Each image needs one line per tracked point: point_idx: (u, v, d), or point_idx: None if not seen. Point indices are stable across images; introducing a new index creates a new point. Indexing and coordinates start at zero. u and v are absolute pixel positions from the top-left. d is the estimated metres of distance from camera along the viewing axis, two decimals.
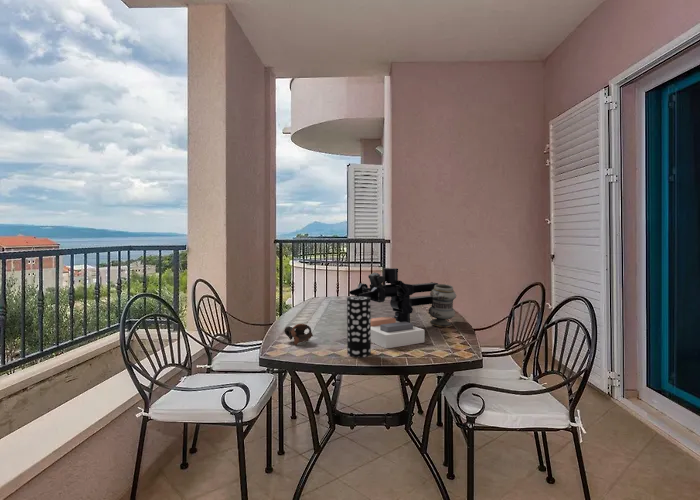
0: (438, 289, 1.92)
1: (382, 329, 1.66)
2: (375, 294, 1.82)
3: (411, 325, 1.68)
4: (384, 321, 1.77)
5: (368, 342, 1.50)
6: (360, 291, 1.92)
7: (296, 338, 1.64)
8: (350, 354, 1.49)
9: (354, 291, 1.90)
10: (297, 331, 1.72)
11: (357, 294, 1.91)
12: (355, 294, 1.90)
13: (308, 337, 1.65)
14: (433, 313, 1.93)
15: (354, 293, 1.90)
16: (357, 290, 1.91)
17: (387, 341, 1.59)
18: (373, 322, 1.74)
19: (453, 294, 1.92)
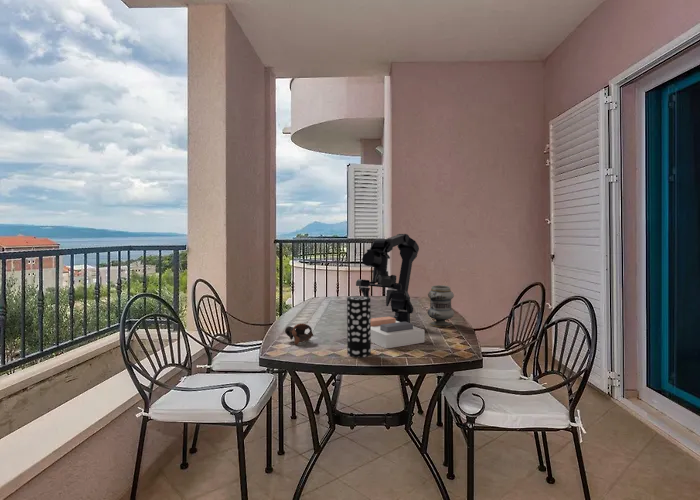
0: (435, 289, 1.94)
1: (382, 329, 1.66)
2: None
3: (411, 325, 1.68)
4: (384, 321, 1.77)
5: (368, 342, 1.50)
6: None
7: (297, 338, 1.64)
8: (350, 354, 1.49)
9: None
10: (298, 331, 1.72)
11: None
12: None
13: (309, 337, 1.65)
14: (432, 314, 1.94)
15: None
16: None
17: (387, 341, 1.59)
18: (373, 322, 1.74)
19: (450, 293, 1.93)
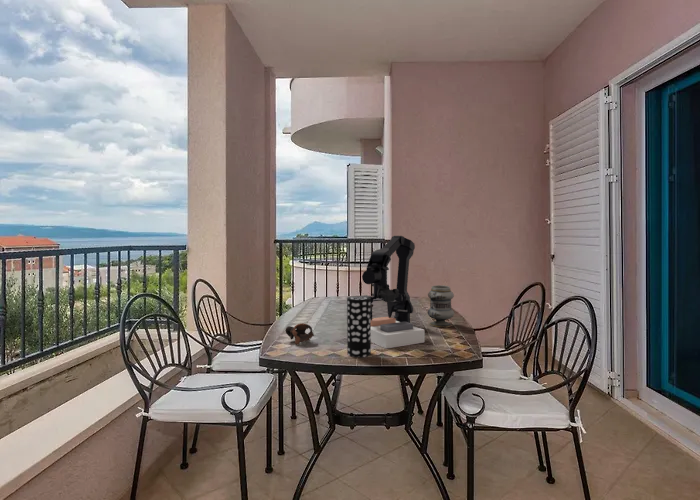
0: (435, 289, 1.94)
1: (382, 329, 1.66)
2: None
3: (411, 325, 1.68)
4: (384, 321, 1.77)
5: (368, 342, 1.50)
6: None
7: (297, 338, 1.65)
8: (350, 354, 1.49)
9: None
10: (298, 331, 1.72)
11: None
12: None
13: (309, 337, 1.66)
14: (432, 314, 1.94)
15: None
16: None
17: (387, 341, 1.59)
18: (373, 322, 1.74)
19: (450, 293, 1.93)
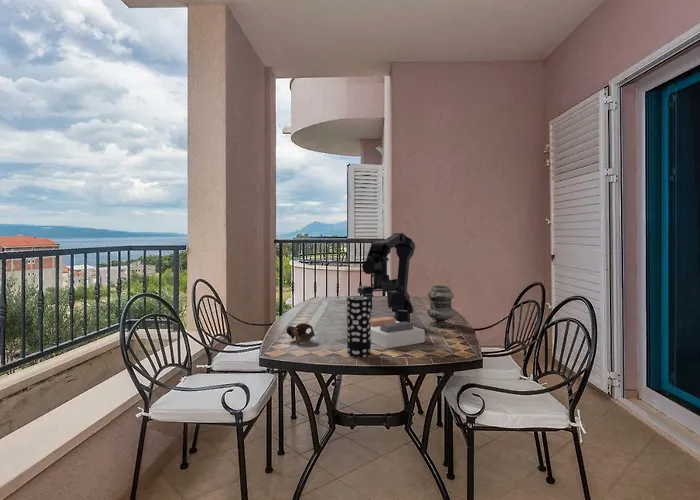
0: (435, 289, 1.94)
1: (382, 329, 1.66)
2: None
3: (411, 325, 1.68)
4: (384, 321, 1.77)
5: (368, 342, 1.50)
6: None
7: (298, 337, 1.65)
8: (350, 354, 1.49)
9: None
10: (299, 330, 1.73)
11: None
12: None
13: (310, 336, 1.66)
14: (432, 314, 1.94)
15: None
16: None
17: (387, 341, 1.59)
18: (373, 322, 1.74)
19: (450, 293, 1.93)
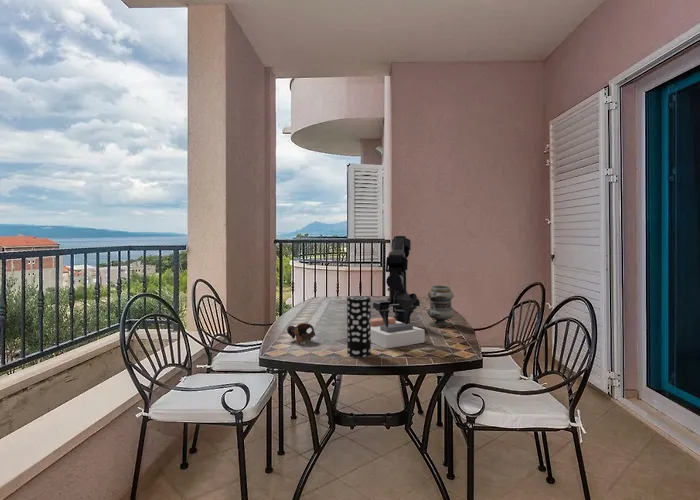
0: (435, 289, 1.94)
1: (382, 330, 1.66)
2: None
3: (411, 326, 1.68)
4: None
5: (368, 342, 1.50)
6: None
7: (299, 337, 1.65)
8: (350, 354, 1.49)
9: None
10: (299, 330, 1.73)
11: None
12: None
13: (311, 336, 1.67)
14: (432, 314, 1.94)
15: None
16: None
17: (387, 341, 1.59)
18: (373, 322, 1.74)
19: (450, 293, 1.93)
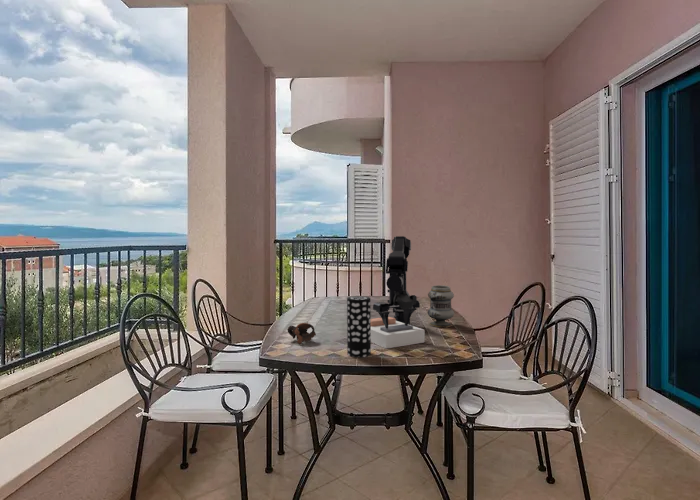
0: (435, 289, 1.94)
1: None
2: None
3: (411, 328, 1.68)
4: None
5: (368, 342, 1.50)
6: None
7: (300, 337, 1.66)
8: (350, 354, 1.49)
9: None
10: (300, 330, 1.73)
11: None
12: None
13: (311, 336, 1.67)
14: (432, 314, 1.94)
15: None
16: None
17: (387, 341, 1.59)
18: (373, 322, 1.74)
19: (450, 293, 1.93)
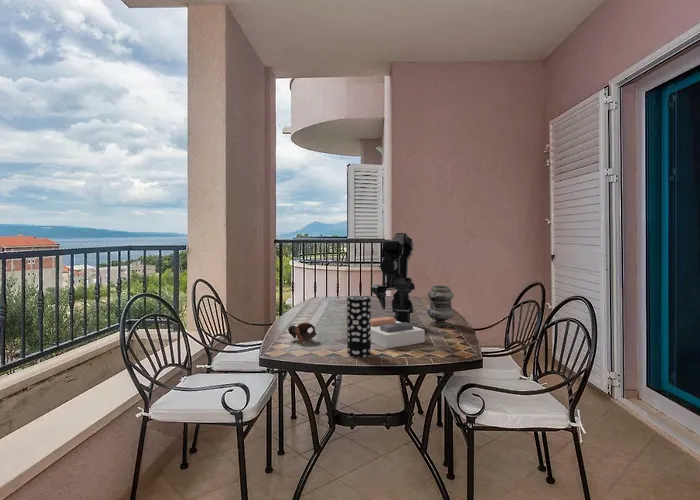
0: (435, 289, 1.94)
1: (382, 330, 1.66)
2: None
3: (411, 326, 1.68)
4: (384, 321, 1.77)
5: (368, 342, 1.50)
6: None
7: (300, 337, 1.66)
8: (350, 354, 1.49)
9: None
10: (300, 330, 1.74)
11: None
12: None
13: (312, 336, 1.67)
14: (432, 314, 1.94)
15: None
16: None
17: (387, 341, 1.59)
18: (373, 322, 1.74)
19: (450, 293, 1.93)
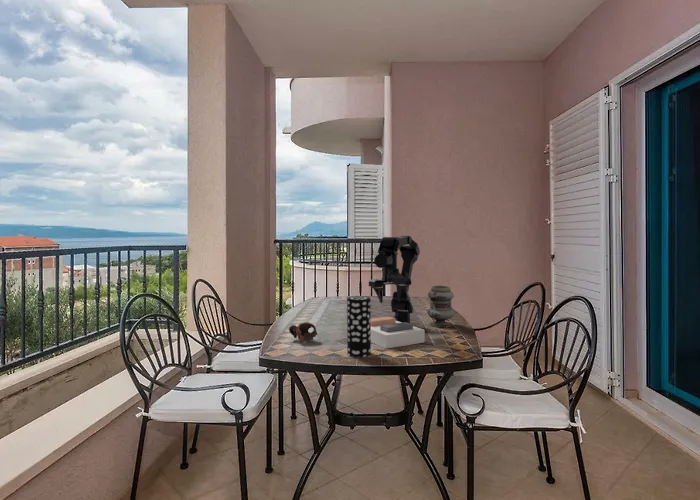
0: (435, 289, 1.94)
1: (382, 330, 1.66)
2: None
3: (411, 326, 1.68)
4: (384, 321, 1.77)
5: (368, 342, 1.50)
6: None
7: (301, 336, 1.66)
8: (350, 354, 1.49)
9: None
10: (301, 330, 1.74)
11: None
12: None
13: (313, 335, 1.68)
14: (432, 314, 1.94)
15: None
16: None
17: (387, 341, 1.59)
18: (373, 322, 1.74)
19: (450, 293, 1.93)
